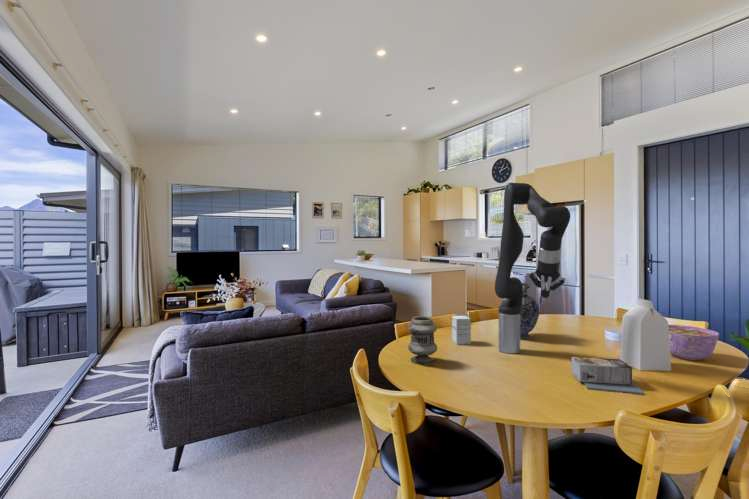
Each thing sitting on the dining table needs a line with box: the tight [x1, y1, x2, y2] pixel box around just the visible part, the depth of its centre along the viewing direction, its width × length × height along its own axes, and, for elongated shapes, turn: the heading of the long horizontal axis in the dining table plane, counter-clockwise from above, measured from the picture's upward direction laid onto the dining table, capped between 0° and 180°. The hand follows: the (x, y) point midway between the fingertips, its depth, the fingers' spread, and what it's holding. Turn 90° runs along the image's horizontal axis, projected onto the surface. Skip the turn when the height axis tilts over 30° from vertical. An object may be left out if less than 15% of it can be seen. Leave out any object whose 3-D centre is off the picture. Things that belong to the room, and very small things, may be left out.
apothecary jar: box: [407, 315, 438, 365], centre depth 151 cm, size 12×12×18 cm
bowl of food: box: [668, 324, 720, 361], centre depth 152 cm, size 20×20×12 cm
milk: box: [619, 298, 672, 372], centre depth 143 cm, size 12×12×26 cm
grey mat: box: [582, 380, 645, 396], centre depth 125 cm, size 16×16×1 cm
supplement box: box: [451, 315, 472, 346], centre depth 178 cm, size 7×7×13 cm
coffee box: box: [571, 356, 633, 385], centre depth 127 cm, size 9×6×16 cm
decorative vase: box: [500, 282, 540, 341], centre depth 187 cm, size 21×19×28 cm
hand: (544, 297), depth 142 cm, fingers closed
